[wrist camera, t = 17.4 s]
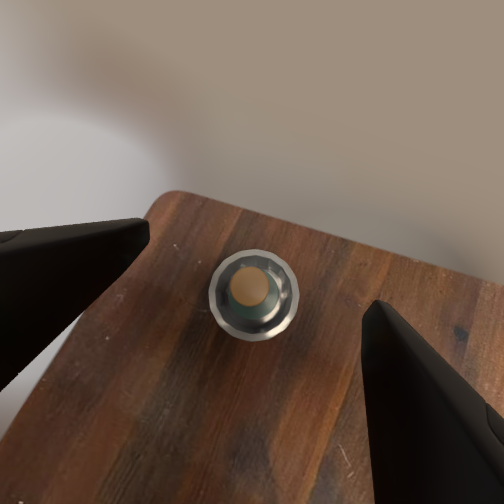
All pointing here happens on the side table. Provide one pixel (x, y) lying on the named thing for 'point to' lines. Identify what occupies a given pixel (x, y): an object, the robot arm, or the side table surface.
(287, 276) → the white cylindrical cup
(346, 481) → the side table surface
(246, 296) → the brush
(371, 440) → the robot arm
